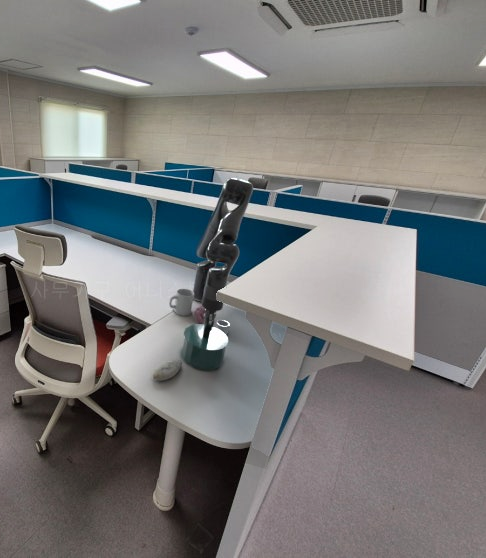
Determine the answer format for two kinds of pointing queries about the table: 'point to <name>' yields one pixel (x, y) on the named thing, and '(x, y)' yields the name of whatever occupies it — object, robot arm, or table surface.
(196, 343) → the lid
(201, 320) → the video game controller
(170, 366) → the decorative stone
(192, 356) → the pot
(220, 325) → the steel cup
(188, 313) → the mug
